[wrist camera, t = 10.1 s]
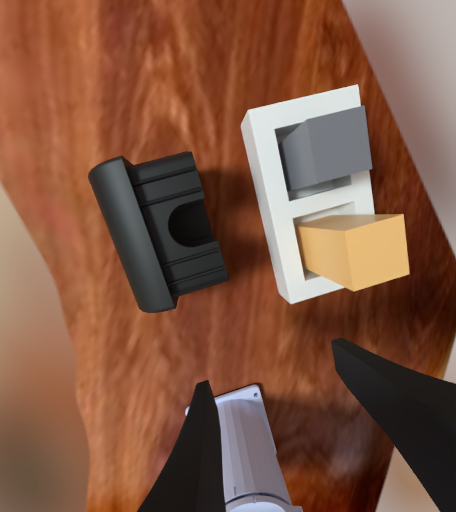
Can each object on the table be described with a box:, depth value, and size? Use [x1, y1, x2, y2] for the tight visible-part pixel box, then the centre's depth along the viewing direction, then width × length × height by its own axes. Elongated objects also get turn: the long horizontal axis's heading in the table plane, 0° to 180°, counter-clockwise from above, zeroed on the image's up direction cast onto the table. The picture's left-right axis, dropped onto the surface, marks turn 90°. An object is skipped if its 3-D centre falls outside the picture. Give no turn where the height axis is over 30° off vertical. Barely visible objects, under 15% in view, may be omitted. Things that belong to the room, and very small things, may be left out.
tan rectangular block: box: [294, 214, 409, 291], centre depth 18 cm, size 4×4×8 cm
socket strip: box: [241, 85, 375, 304], centre depth 19 cm, size 16×9×6 cm, turn 15°
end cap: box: [88, 151, 229, 313], centre depth 17 cm, size 10×7×7 cm
